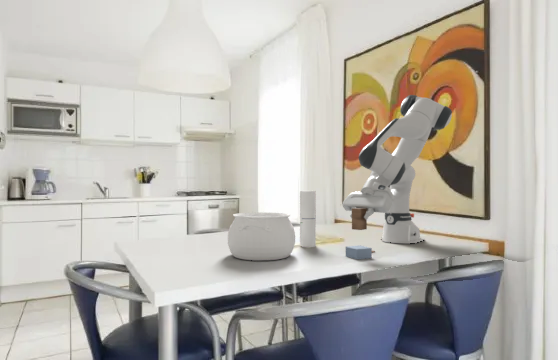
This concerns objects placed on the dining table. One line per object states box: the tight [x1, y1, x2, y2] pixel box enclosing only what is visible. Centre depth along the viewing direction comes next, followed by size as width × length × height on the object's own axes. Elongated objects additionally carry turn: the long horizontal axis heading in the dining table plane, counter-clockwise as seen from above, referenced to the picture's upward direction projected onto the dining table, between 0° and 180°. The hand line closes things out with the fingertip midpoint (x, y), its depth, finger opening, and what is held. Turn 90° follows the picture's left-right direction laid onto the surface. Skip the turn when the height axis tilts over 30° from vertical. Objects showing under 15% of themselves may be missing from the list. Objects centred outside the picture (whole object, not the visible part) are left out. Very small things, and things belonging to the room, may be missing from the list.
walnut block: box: [351, 208, 368, 231], centre depth 144 cm, size 4×4×8 cm
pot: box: [227, 212, 296, 262], centre depth 147 cm, size 29×26×16 cm
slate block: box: [345, 245, 373, 260], centre depth 144 cm, size 7×7×4 cm
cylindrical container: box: [299, 190, 317, 248], centre depth 170 cm, size 7×7×25 cm
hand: (358, 218), depth 144 cm, fingers closed on walnut block, 4 cm apart
